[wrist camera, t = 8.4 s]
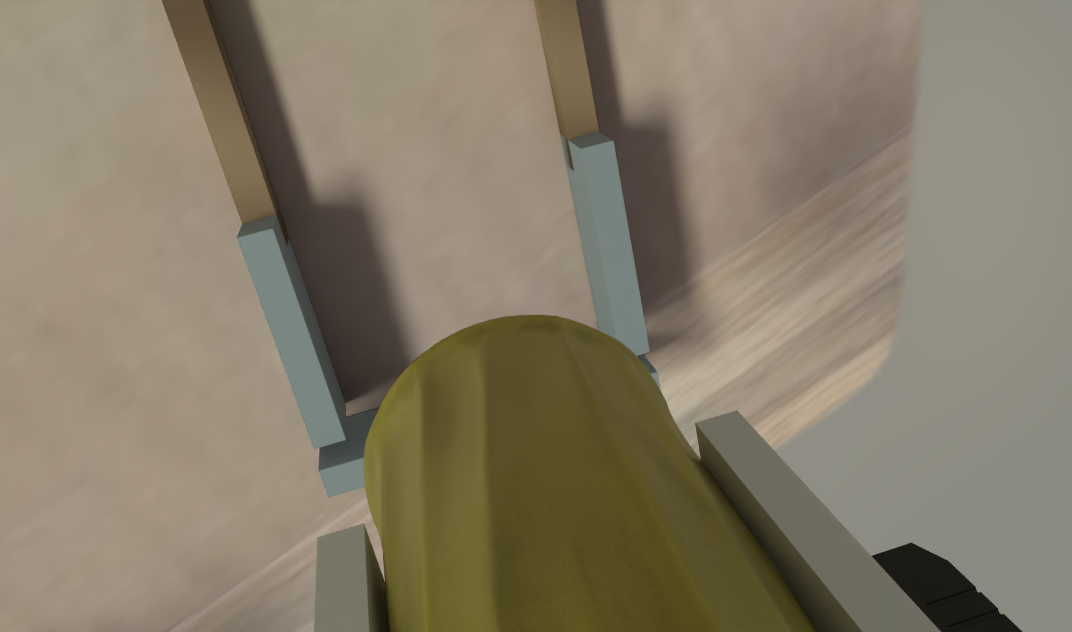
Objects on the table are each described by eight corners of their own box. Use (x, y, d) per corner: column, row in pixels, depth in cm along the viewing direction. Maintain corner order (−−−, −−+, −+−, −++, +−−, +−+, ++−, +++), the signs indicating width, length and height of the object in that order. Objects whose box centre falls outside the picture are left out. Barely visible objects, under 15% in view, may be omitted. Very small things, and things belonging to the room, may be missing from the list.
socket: (245, 215, 26) (234, 242, 23) (590, 126, 27) (618, 143, 25) (329, 449, 29) (328, 497, 27) (633, 361, 31) (661, 398, 28)
